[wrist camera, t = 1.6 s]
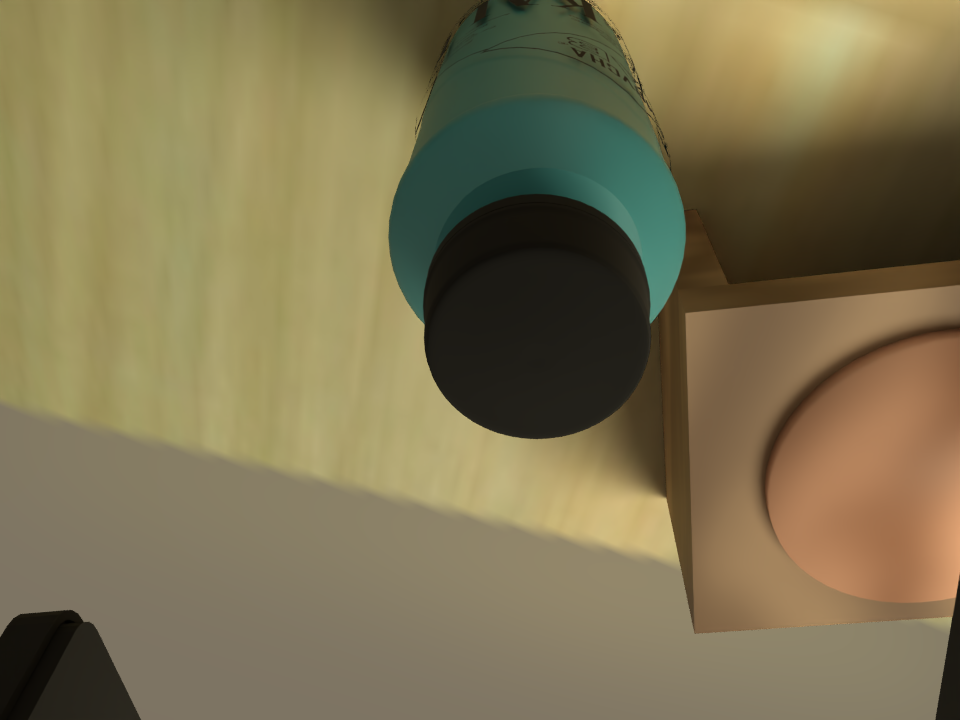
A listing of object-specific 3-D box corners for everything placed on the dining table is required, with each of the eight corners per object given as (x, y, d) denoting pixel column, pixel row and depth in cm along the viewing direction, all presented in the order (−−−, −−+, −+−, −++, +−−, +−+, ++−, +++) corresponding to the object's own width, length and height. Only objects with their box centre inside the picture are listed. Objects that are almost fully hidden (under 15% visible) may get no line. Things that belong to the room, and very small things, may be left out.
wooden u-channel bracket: (1098, 163, 33) (1262, 264, 26) (1034, 469, 40) (1148, 616, 33) (653, 214, 35) (688, 322, 28) (666, 499, 42) (696, 645, 35)
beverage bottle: (566, 188, 35) (609, 560, 18) (407, 105, 33) (286, 421, 16) (662, 29, 32) (828, 291, 14) (491, -70, 30) (451, 91, 13)
